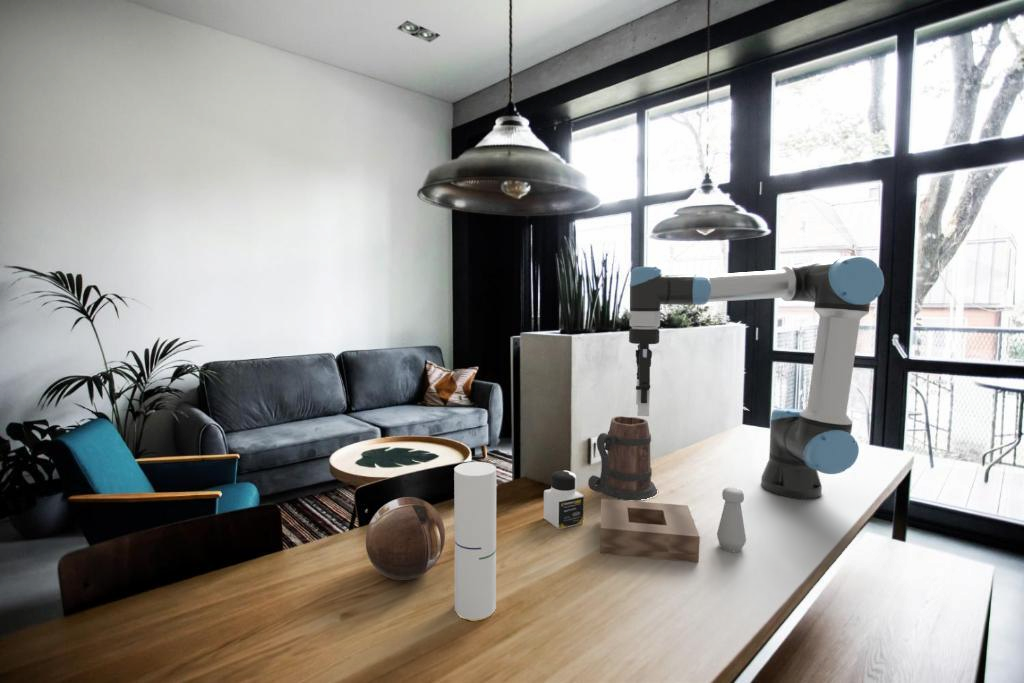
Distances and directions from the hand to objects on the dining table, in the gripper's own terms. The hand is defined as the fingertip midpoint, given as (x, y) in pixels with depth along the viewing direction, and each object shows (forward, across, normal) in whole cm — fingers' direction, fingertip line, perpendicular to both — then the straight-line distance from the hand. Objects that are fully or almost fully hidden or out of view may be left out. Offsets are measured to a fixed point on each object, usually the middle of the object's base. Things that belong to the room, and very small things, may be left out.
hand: (642, 409), depth 132 cm
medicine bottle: (+25, +15, -18) cm, 35 cm away
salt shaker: (+26, +20, +19) cm, 37 cm away
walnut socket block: (+25, +20, +1) cm, 32 cm away
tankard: (+25, -8, -5) cm, 27 cm away
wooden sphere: (+25, +46, -46) cm, 69 cm away
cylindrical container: (+25, +53, -29) cm, 66 cm away
